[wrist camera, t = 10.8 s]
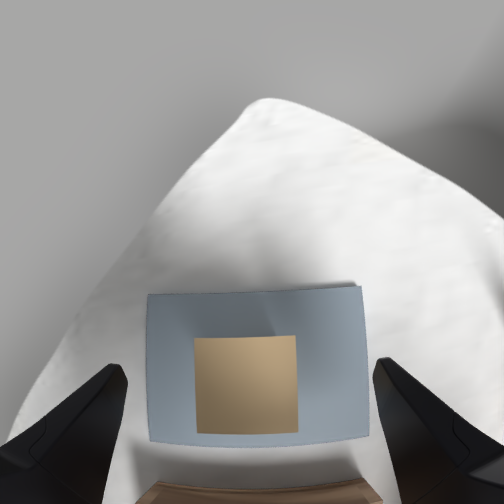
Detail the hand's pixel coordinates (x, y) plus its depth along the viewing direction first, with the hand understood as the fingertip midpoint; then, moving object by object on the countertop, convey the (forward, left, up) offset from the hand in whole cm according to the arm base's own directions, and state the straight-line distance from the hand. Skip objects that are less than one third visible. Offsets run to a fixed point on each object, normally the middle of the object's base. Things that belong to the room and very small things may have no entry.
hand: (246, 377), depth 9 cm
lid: (0, 0, -9) cm, 9 cm away
